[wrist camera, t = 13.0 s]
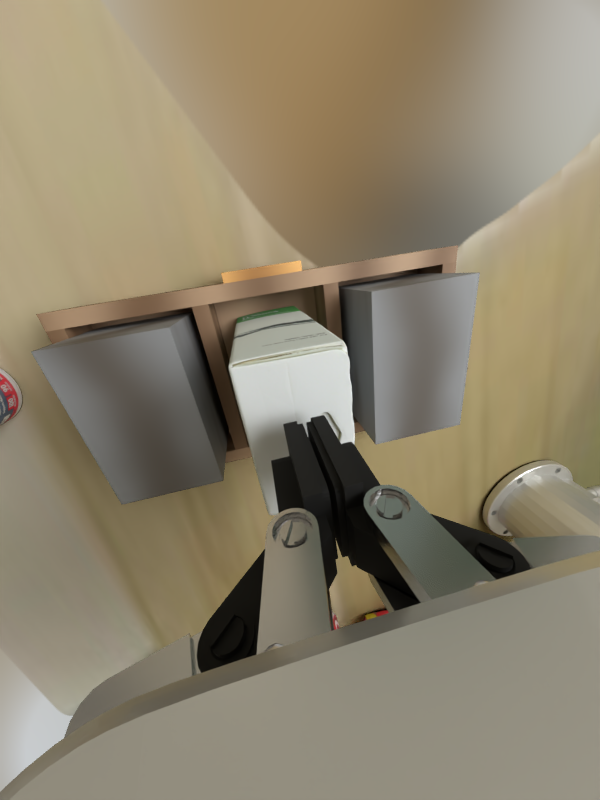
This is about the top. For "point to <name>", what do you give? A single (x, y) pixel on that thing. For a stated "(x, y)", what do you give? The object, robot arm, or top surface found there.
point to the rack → (211, 349)
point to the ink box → (287, 384)
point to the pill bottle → (9, 397)
